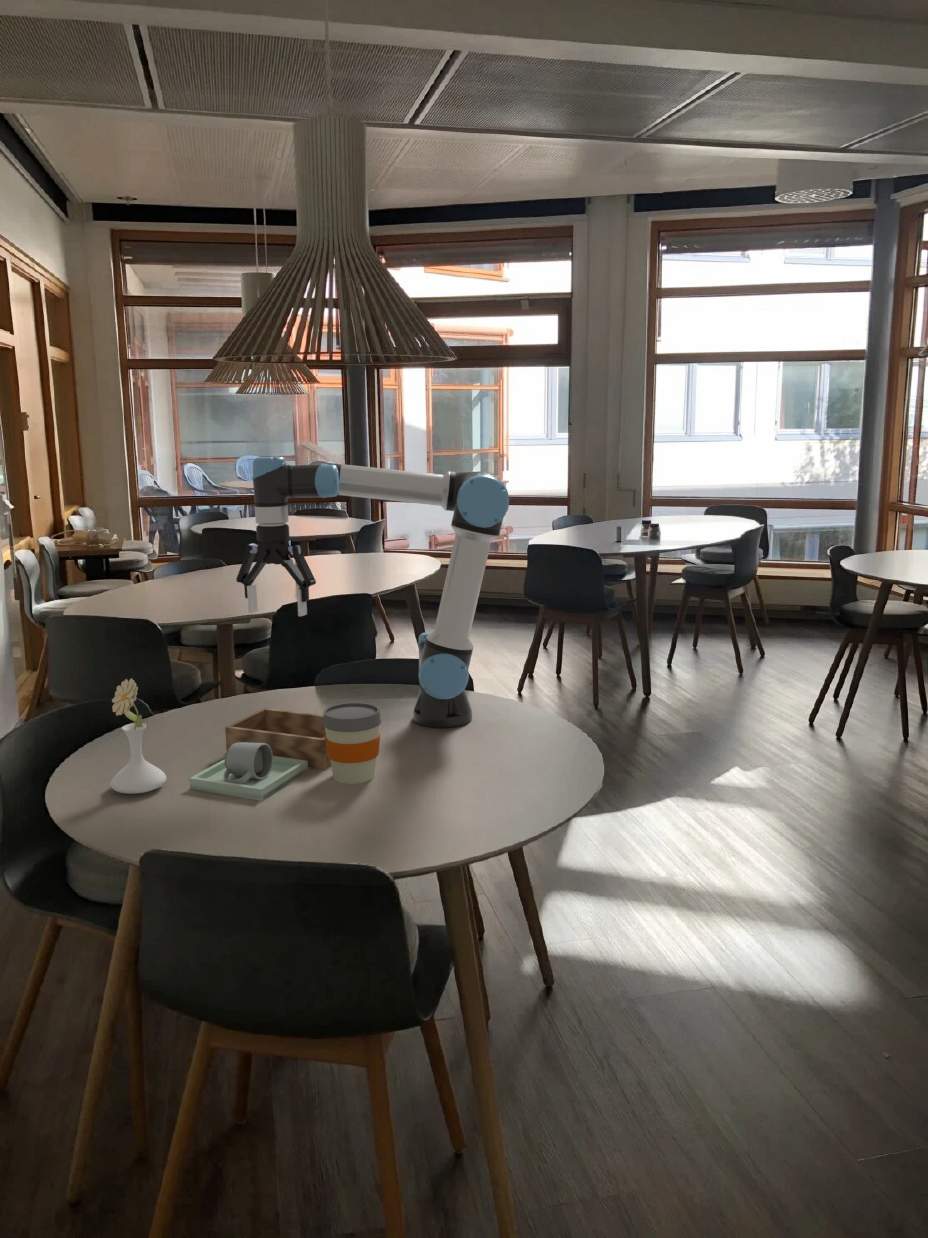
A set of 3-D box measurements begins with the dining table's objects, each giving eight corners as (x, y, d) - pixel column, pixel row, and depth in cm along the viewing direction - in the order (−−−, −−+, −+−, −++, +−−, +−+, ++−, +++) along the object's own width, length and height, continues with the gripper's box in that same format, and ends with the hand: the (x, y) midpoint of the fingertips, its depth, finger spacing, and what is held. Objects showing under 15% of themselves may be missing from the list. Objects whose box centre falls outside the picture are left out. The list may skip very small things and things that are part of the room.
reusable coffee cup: (358, 762, 223) (356, 698, 220) (394, 776, 214) (392, 710, 211) (313, 776, 214) (310, 711, 211) (349, 791, 205) (346, 723, 202)
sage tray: (308, 771, 217) (307, 760, 217) (262, 801, 201) (261, 789, 200) (240, 761, 224) (239, 751, 223) (190, 789, 208) (189, 778, 207)
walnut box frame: (358, 747, 232) (357, 719, 231) (324, 770, 218) (323, 740, 216) (265, 735, 242) (264, 708, 241) (227, 756, 228) (225, 727, 226)
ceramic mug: (242, 767, 217) (240, 735, 215) (274, 772, 214) (272, 738, 212) (214, 785, 207) (211, 751, 206) (247, 790, 204) (244, 755, 203)
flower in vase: (109, 783, 212) (98, 671, 206) (163, 775, 216) (155, 665, 211) (113, 805, 200) (102, 687, 195) (171, 796, 204) (162, 680, 199)
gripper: (327, 523, 226) (331, 613, 231) (236, 521, 235) (241, 607, 240) (311, 527, 219) (315, 619, 224) (217, 524, 228) (223, 613, 233)
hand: (277, 613), depth 232 cm, fingers open, 13 cm apart
